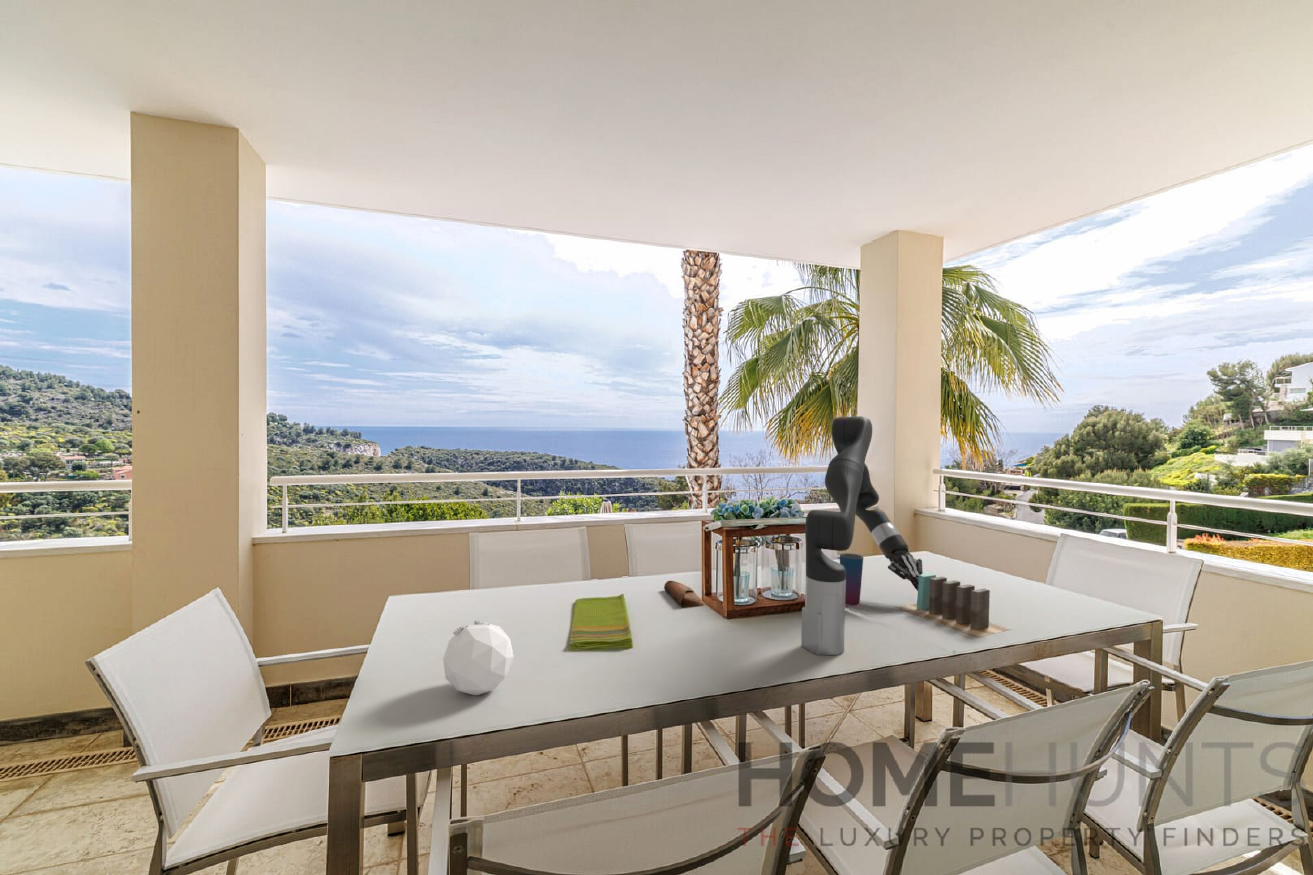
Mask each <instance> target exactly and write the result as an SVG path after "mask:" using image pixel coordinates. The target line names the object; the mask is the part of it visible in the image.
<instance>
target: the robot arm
mask: <svg viewBox="0 0 1313 875" xmlns="http://www.w3.org/2000/svg"><path fill="white" fill-rule="evenodd" d="M872 437H873V424H872V421H871V419H869V417H867V416H859V415H857V416H855V415H854V416H839V417H836V418H834V419H833V421H832V423H831V440H832V443H833V446H834V448H835V451H836V453H837V455H835V456H834V457H833V458H832V459H831V460H830V461H829V463H828V466H827V469H826V473H825V477H824V486H825V488H826V490H827V492H828V494H829V495H830V497H831V498H832V499H833V500H834V502H835V503H836V504H837V506H838V509H839V510H840V511H831V510H818V509H812V510H810V511H808V513H807V515H806V519H805V524H804V525H805V527H804V530H805V532H804V535H805V600H804V601H805V603H804V604H805V605H804V606H803V607H802V608H801V637H800V638H801V641H800V642H801V643H800V646H801V647H803V648H805V649H806V650H809V651H810V652H811V653H814V654H815V655H816V656H817V655H818V656H821V655H825V656H826V655H827V656H835V655H836V656H837V655H841V654H843V653H844V652H845V636H846V635H845V631H846V630H845V629H846V624H845V623H846V607H845V606H846V604H845V591H846V569H845V567H844V566H843V565H841V564H840V562H837V561H835V560H833V559H831V558H830V557H828V556H827V555H826V554H825V553H824V552H823V551H822V550H827V551H838V552H843V551H848V550H849V549H850V548H851V545H852V543H853V539H854V531H855V522H856V517H858V518H859V520H861V521H862V522H863V523H864V524H865V526H866V527H867V529H868V531H869V532H870V534H871V536H872V537H873V540H874V541H875V543H876V545H877V546H878V548H879V549H880V551H881V552H882V554H883V556H884V557H885V558H886V560H889V562H890V563H889V565H888V566H887V569H888V570H889V571H891V572H893V573H894V574H895V575H897V576H898V577H899V578H901V579H902V580H907V581H909V582H910V583H911V585H912V586H913V588H914V589H915V590H916V592H918V585H919V575H923V574H924V573H923V572H924V571H923V560H922V559H921V558H918V559H916V558H914V555H913V554H912V553H910V552H909V545H908V544H907V542H906V541H905V539H904V538H903V536H902V534H900V532H899V531H898V529H897V527H896V526H895V525H894V524H893V523H892V521H891V520H890V519H889V517H888V515H886V513H885V512H884V510H882V509H880V508H876V509H871V510H870V508H872V507H874V506H876V505H877V504H878V503H879V501H880V496H879V494H878V491H877V490H876V488H875V487H874V486H873V484H872V482H871V476H870V470H869V468H868V466H867V464H866V458H867V454H868V451H869V449H870V448H869V447H870V444H871V441H872V439H873V438H872ZM868 509H869V510H868Z"/></svg>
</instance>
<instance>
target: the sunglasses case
mask: <svg viewBox="0 0 1313 875" xmlns="http://www.w3.org/2000/svg"><path fill="white" fill-rule="evenodd" d="M663 588H664V591H665V592H667V594H669V595H670V596H671V597H672V598H673V599H674V600H675V601H676V602H677V603H678V604H679V606H681V607H682V609H683V608H684V609H686V608H697V607H706V604H705V602H704V601H703V600H702V598H701V597H699V596H698V595H697V594H696V593H695V592H694V591H695V590H693V589H692V588H691V587H689V586H687V585H685V584H684V583H681V582H678V581H675V580H667V581H666V582H665V583H664V587H663Z"/></svg>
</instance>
